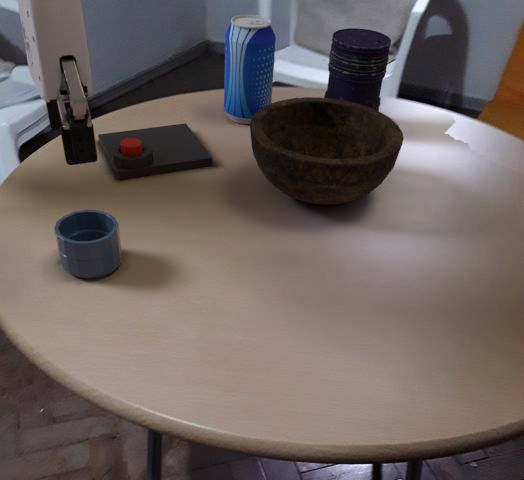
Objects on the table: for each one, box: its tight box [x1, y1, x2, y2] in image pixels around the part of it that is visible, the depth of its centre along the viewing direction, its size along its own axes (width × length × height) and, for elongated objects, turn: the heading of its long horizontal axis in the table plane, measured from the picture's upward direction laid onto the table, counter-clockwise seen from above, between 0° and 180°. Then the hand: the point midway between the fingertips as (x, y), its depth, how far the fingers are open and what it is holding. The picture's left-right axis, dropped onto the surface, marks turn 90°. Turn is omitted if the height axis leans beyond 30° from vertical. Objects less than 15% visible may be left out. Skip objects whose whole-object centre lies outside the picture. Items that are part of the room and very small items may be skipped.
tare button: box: [120, 138, 142, 156], centre depth 95 cm, size 3×3×2 cm
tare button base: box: [97, 123, 213, 181], centre depth 100 cm, size 15×13×3 cm
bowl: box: [249, 96, 404, 205], centre depth 92 cm, size 22×22×10 cm
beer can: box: [223, 14, 277, 125], centre depth 108 cm, size 8×8×16 cm
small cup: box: [53, 209, 123, 280], centre depth 78 cm, size 7×7×6 cm
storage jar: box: [323, 27, 392, 112], centre depth 108 cm, size 10×10×15 cm
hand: (73, 143), depth 68 cm, fingers open, 8 cm apart
